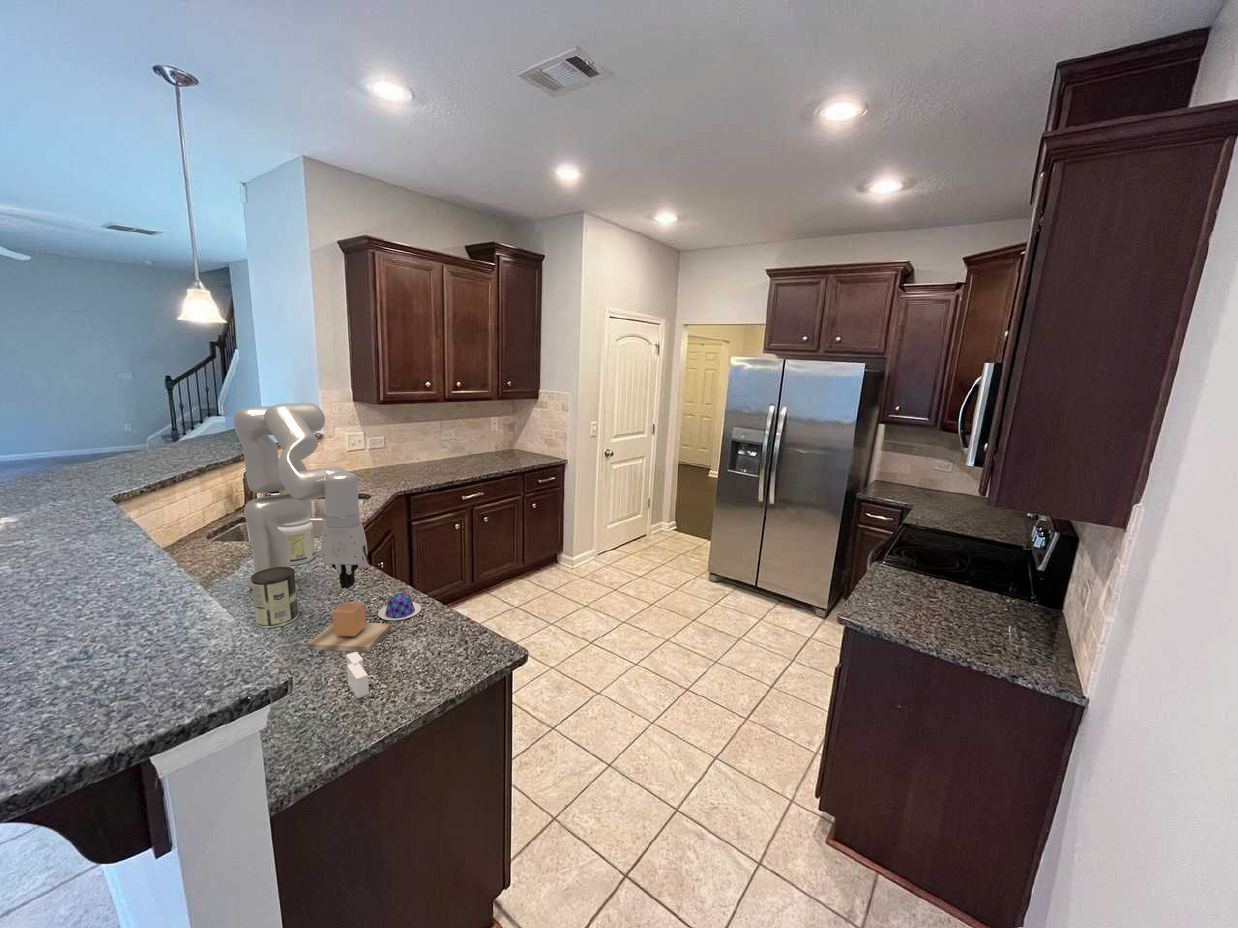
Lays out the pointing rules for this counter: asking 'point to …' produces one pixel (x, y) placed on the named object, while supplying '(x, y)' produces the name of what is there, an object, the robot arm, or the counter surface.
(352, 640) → the post stand
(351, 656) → the white stepped block
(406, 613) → the pudding
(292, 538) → the supplement tub
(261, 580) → the coffee can
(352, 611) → the orange block
